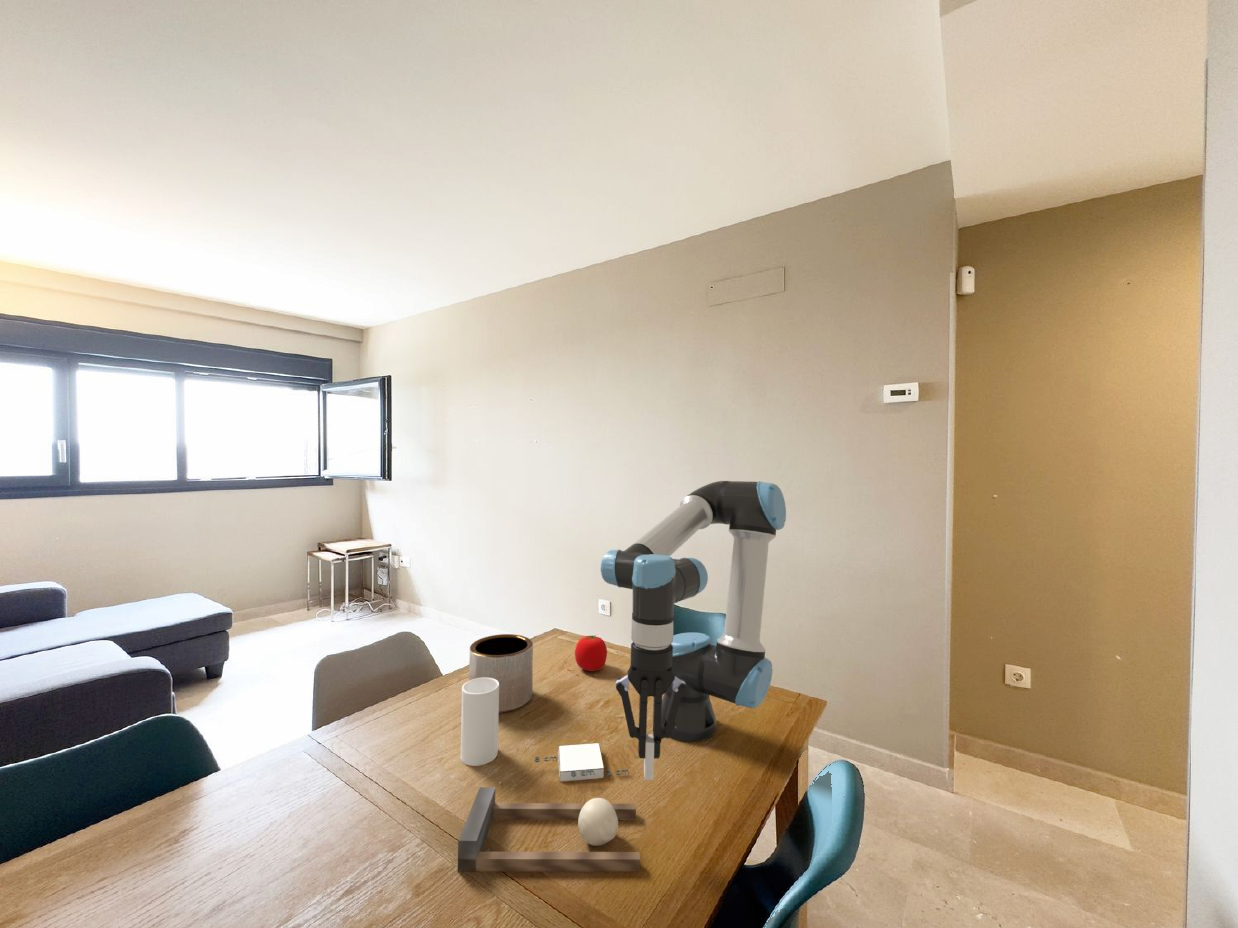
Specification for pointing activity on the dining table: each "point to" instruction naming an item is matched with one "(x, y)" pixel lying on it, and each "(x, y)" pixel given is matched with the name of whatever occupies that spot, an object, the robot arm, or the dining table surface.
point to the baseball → (597, 822)
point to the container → (580, 762)
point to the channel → (534, 861)
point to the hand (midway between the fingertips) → (648, 774)
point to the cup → (479, 721)
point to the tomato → (591, 653)
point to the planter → (505, 667)
